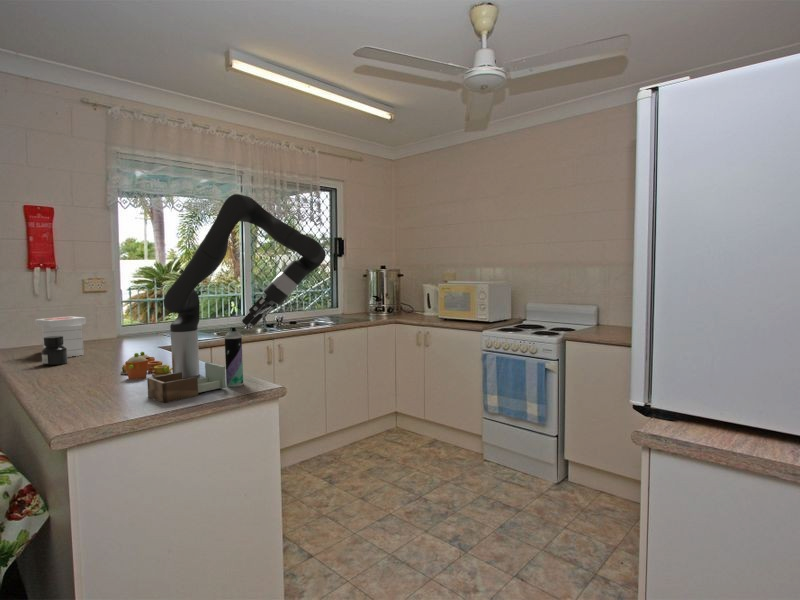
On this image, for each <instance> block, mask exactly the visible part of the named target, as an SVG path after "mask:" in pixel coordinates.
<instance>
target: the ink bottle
mask: <svg viewBox="0 0 800 600" xmlns="http://www.w3.org/2000/svg"><path fill="white" fill-rule="evenodd" d="M63 343H64V341H63V336H50V337H44V346H46V347H45V348H44V349H43V348H42V350H41V364H42V366H44V367H45V366H46V367H50V366H51V367H53V365H54V366H61V365H66V364H67V363H68V362H69V361H68V357H67V348H66V347H64V346H62V345H63Z"/></svg>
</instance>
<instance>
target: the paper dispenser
mask: <svg viewBox="0 0 800 600" xmlns="http://www.w3.org/2000/svg"><path fill="white" fill-rule="evenodd" d="M86 320H87V319H86V316H85V317H84V316H73V315H72V316H59V317H48V318H47V317H46V318H36V319H35V320H34V321H35V327H41V334H42V336H41V337H42V350H43V349H44V348H45V347H46V346H44V337H50V336H63V341H64V343H63V345H62V346H64V347H66V348H67V358H73V357H72V356H76V357H80V356H79V355H84V354H85V352H84V339H83V338H84V336H83V325H86V324H87V321H86ZM84 356H85V355H84Z"/></svg>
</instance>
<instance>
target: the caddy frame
mask: <svg viewBox="0 0 800 600" xmlns="http://www.w3.org/2000/svg"><path fill="white" fill-rule="evenodd" d="M146 378H147V380H146V382H147V383H146V384H147V397H148V398H150V399H152V400H155V401H158V402H160V403H163V404H167V403H172V402H176V401H180V400H185V399H189V398H190V399H191V398H193V397H194V398H195V397H198V396H199V393H198V379H199V377H198V376H195V377H189V378H182V372H179V373H173V372H172V373H171V374H167V375H162V376H151V377H146Z"/></svg>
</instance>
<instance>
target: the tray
mask: <svg viewBox="0 0 800 600" xmlns="http://www.w3.org/2000/svg"><path fill="white" fill-rule="evenodd" d="M204 370H205V371H204V372H205V373H204V374H205V375H204V376H205V377H200V378H199V377H198V394H199V393H203V392H210V391H213V390H217V389H226V387H227V384H226V365H221V364H216V363H213V362H208V361H207V362H204Z"/></svg>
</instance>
